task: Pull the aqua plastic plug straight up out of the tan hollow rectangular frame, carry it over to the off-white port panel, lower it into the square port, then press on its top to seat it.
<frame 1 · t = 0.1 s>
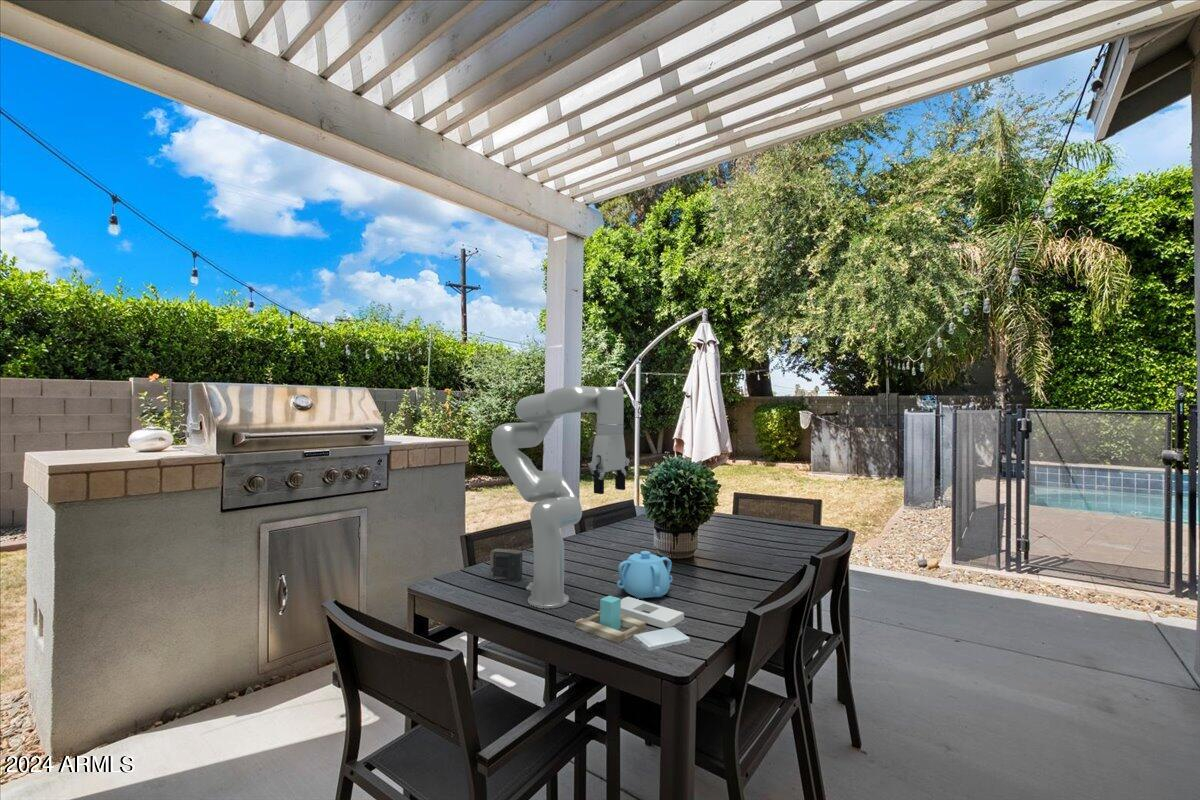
hand: (609, 491, 155), 37 cm above the table, tool pointing down, fingers open, 9 cm apart
hard drive: (661, 642, 143), on the table
port panel: (646, 615, 160), on the table
decorative pot: (645, 594, 178), on the table
camera: (506, 579, 192), on the table
plug: (610, 628, 150), resting in tan hollow rectangular frame
tan hollow rectangular frame: (610, 628, 150), on the table
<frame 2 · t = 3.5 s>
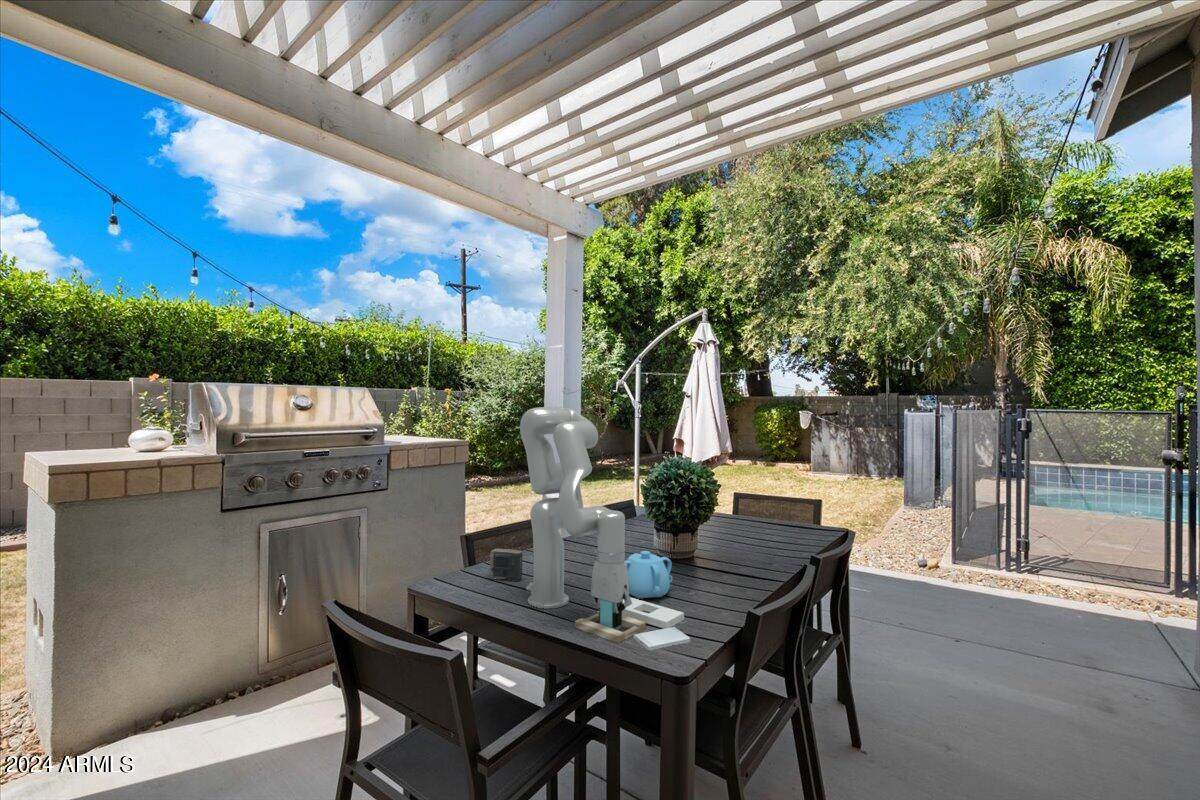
hand: (610, 623, 150), 1 cm above the table, tool pointing down, fingers closed on plug, 3 cm apart
plug: (610, 628, 150), resting in tan hollow rectangular frame, touching gripper
everything else where it was.
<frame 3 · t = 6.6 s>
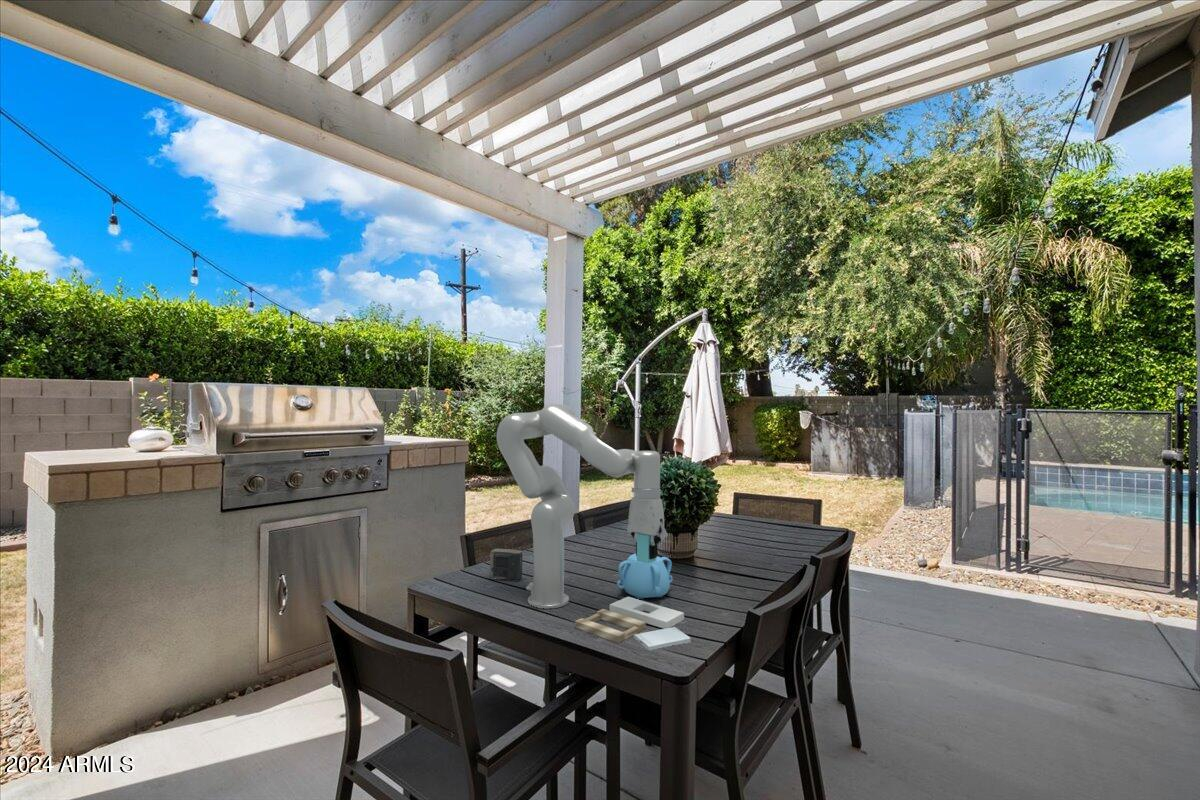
hand: (646, 556, 160), 17 cm above the table, tool pointing down, fingers closed on plug, 3 cm apart
plug: (646, 560, 160), point 16 cm above the table, touching gripper
everything else where it was.
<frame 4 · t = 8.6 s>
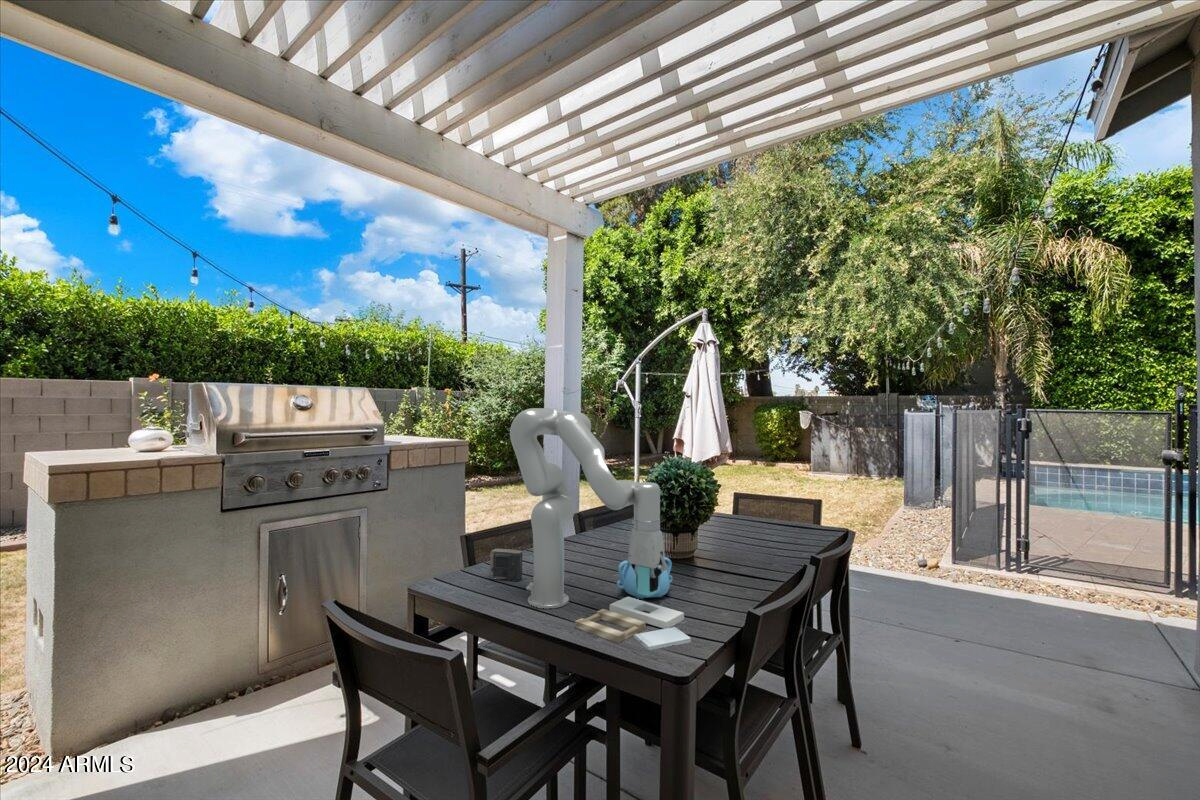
hand: (647, 588, 160), 8 cm above the table, tool pointing down, fingers closed on plug, 3 cm apart
plug: (647, 592, 160), point 7 cm above the table, touching gripper
everything else where it was.
when the fingers open (3 cm above the table, at t = 10.2 s): plug drops 1 cm, resting in port panel.
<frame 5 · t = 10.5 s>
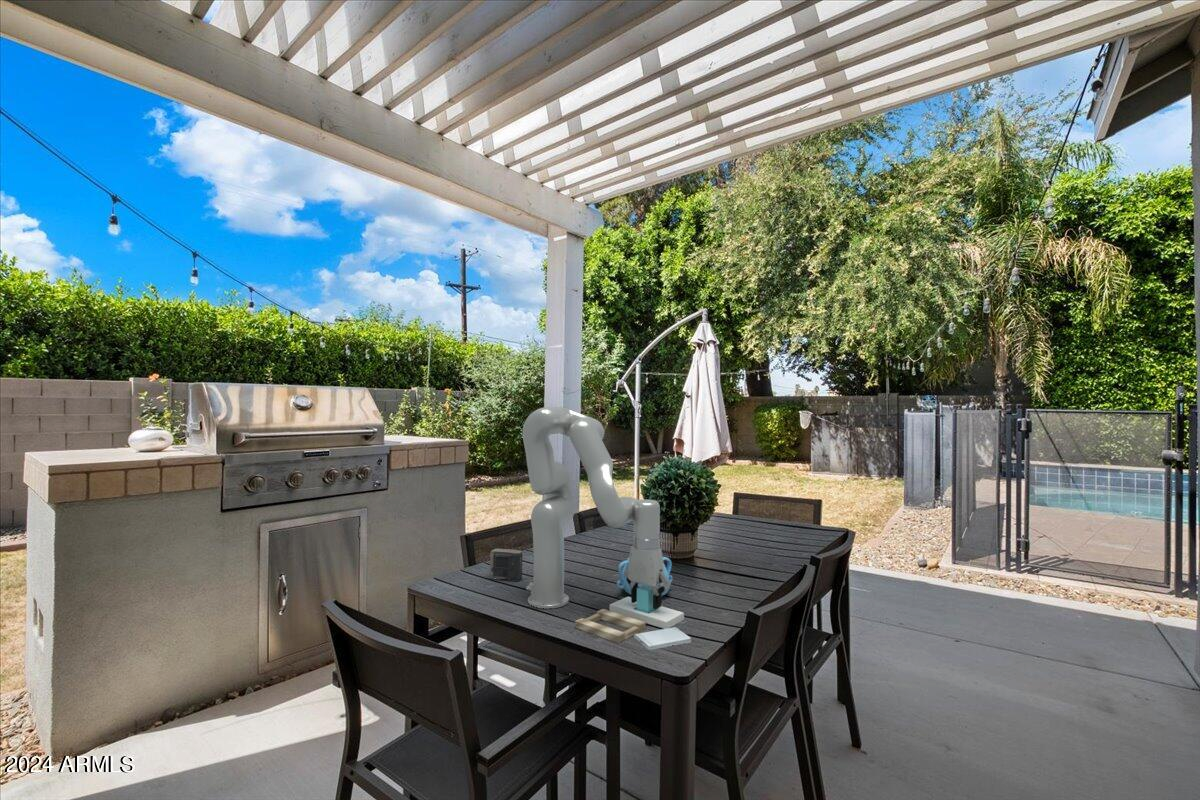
hand: (646, 604, 160), 3 cm above the table, tool pointing down, fingers open, 7 cm apart
plug: (646, 615, 160), resting in port panel
everything else where it was.
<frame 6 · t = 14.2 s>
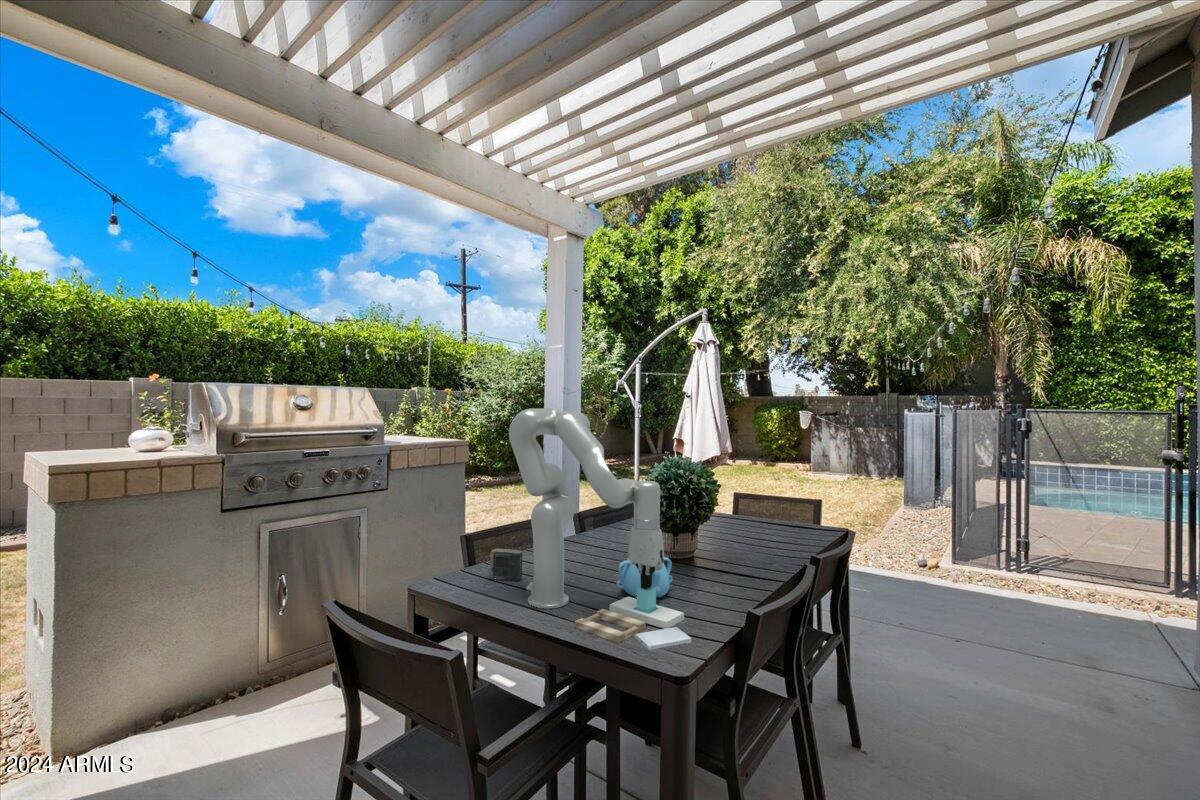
hand: (646, 587, 160), 8 cm above the table, tool pointing down, fingers closed
nothing on the table moved.
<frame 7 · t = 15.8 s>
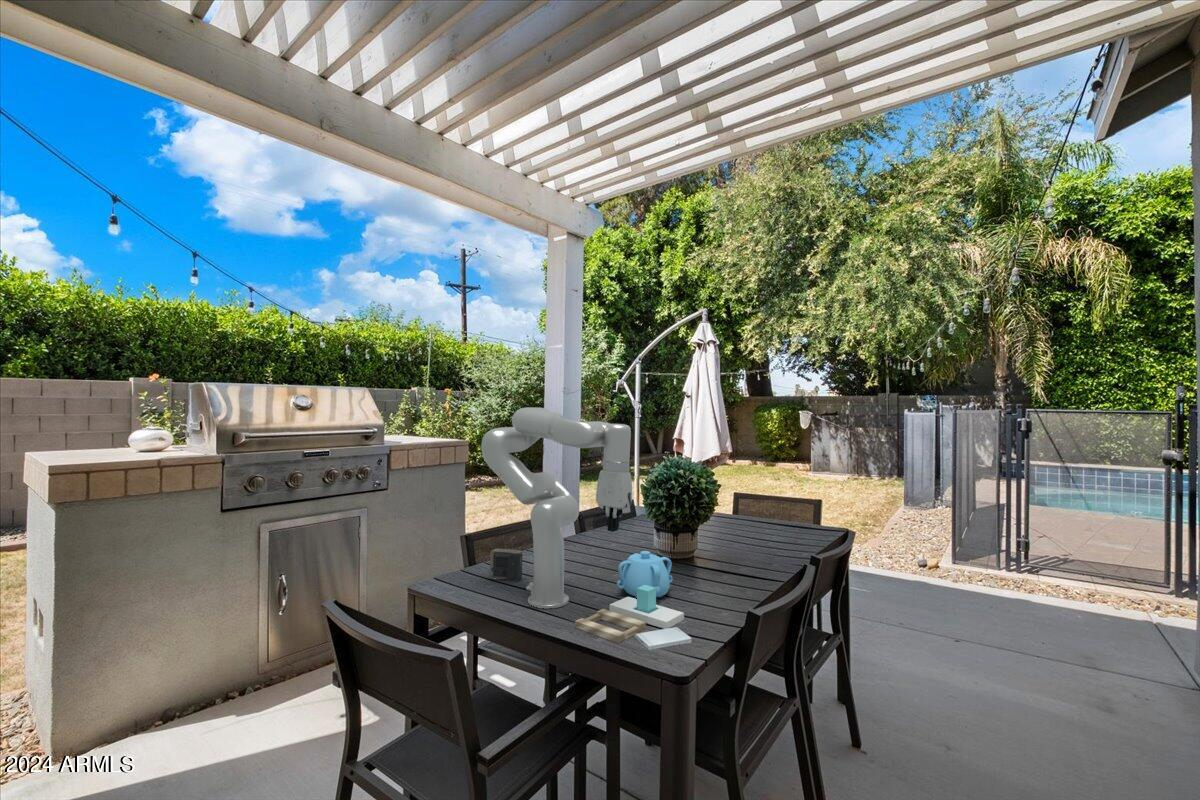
hand: (612, 530, 159), 25 cm above the table, tool pointing down, fingers closed
nothing on the table moved.
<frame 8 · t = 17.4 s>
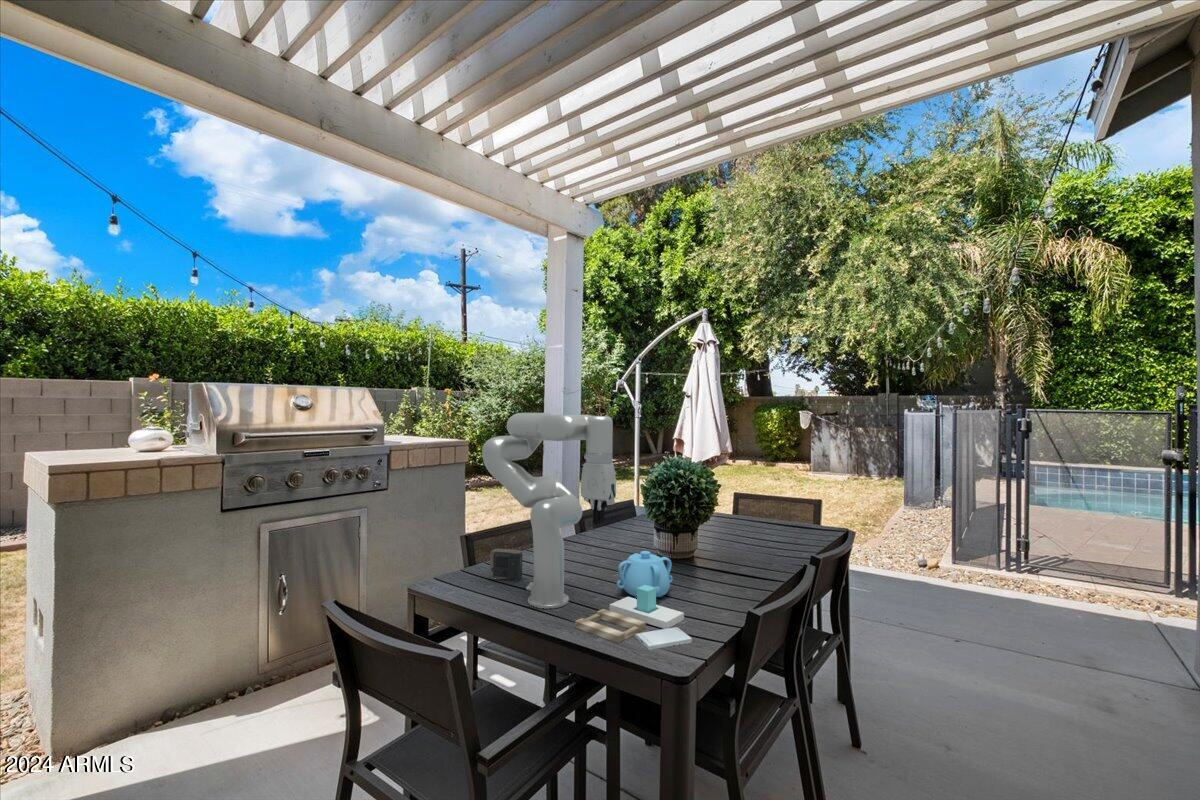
hand: (598, 523, 158), 27 cm above the table, tool pointing down, fingers closed
nothing on the table moved.
at the end: plug 0.1 cm off-centre on the port panel, point 0.0 cm above the port panel's base; plug tilted 0°; the gripper is holding nothing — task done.
